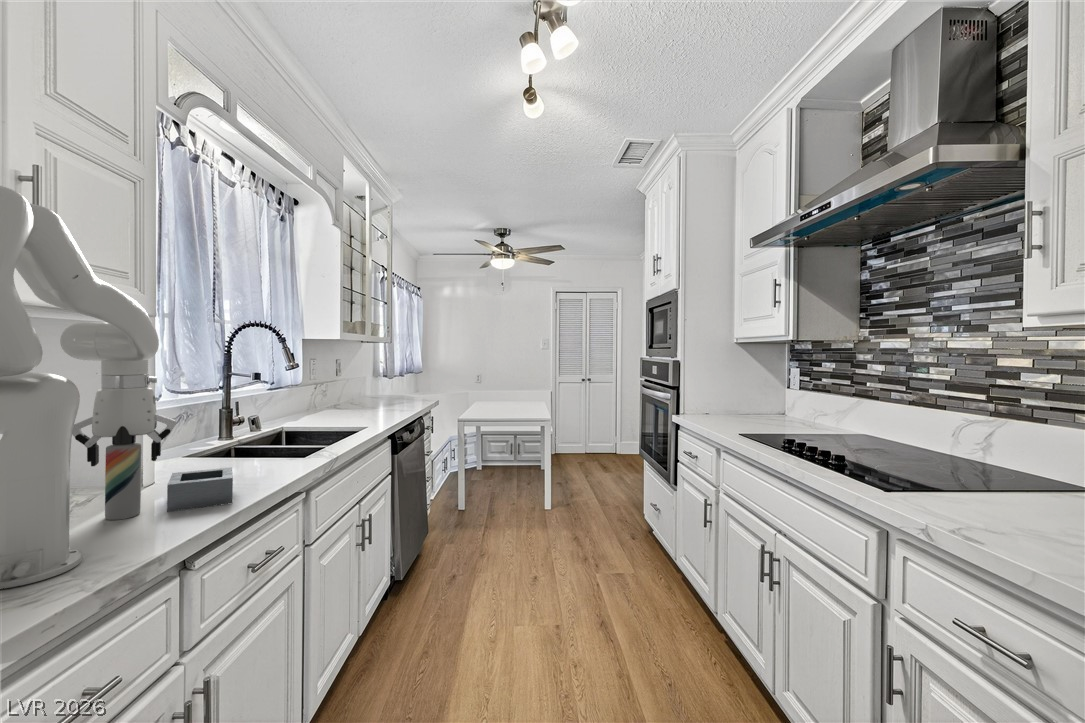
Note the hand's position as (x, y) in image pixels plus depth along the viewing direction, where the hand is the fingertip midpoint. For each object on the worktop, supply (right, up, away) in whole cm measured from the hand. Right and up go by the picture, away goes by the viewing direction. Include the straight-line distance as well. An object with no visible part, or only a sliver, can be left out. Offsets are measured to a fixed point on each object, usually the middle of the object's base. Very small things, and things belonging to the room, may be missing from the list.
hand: (125, 462), depth 101 cm
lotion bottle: (0, -12, -1) cm, 12 cm away
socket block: (+9, -11, +11) cm, 18 cm away
